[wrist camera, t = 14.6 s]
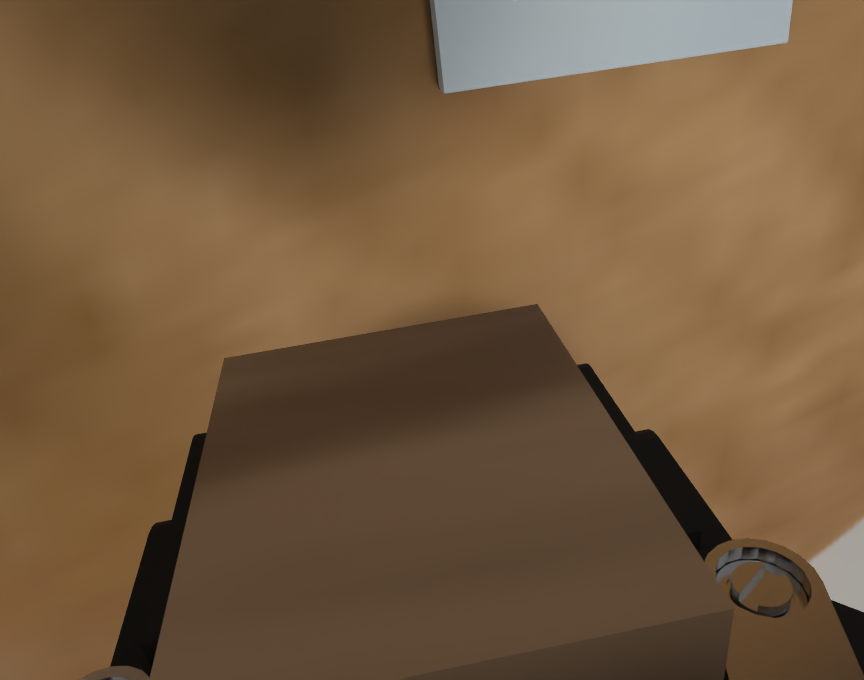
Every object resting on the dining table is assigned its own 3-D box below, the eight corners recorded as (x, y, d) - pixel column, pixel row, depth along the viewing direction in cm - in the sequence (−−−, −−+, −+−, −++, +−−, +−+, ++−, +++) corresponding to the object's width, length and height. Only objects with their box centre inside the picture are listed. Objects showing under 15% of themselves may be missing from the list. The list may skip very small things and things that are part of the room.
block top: (224, 358, 11) (136, 734, 5) (537, 304, 11) (735, 607, 6) (293, 580, 13) (277, 986, 8) (547, 530, 14) (692, 887, 8)
